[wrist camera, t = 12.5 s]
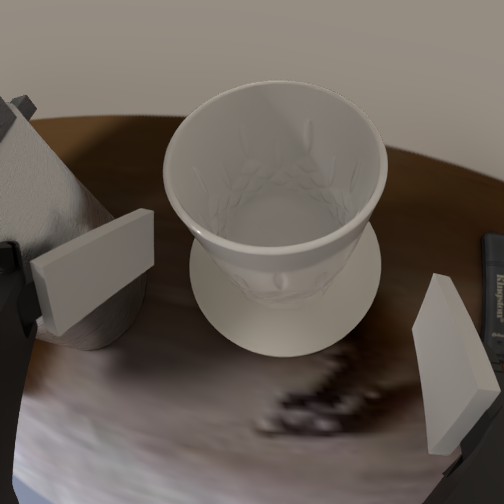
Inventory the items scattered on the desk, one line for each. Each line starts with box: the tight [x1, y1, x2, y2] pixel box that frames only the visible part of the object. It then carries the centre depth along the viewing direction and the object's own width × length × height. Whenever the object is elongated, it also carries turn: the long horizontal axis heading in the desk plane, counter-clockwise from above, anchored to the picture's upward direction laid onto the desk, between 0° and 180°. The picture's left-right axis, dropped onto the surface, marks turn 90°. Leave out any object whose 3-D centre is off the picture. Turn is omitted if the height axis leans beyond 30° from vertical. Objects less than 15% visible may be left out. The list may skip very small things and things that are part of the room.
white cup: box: [163, 80, 388, 310], centre depth 15 cm, size 8×8×10 cm
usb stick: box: [481, 232, 504, 363], centre depth 18 cm, size 10×3×2 cm, turn 166°
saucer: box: [189, 221, 381, 358], centre depth 20 cm, size 12×12×1 cm
